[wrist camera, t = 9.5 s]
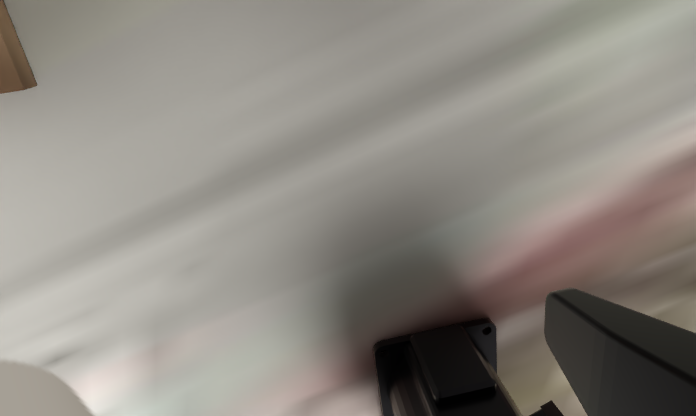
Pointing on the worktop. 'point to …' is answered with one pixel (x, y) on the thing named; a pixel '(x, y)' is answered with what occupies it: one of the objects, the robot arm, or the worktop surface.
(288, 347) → the worktop surface
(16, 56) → the walnut board
